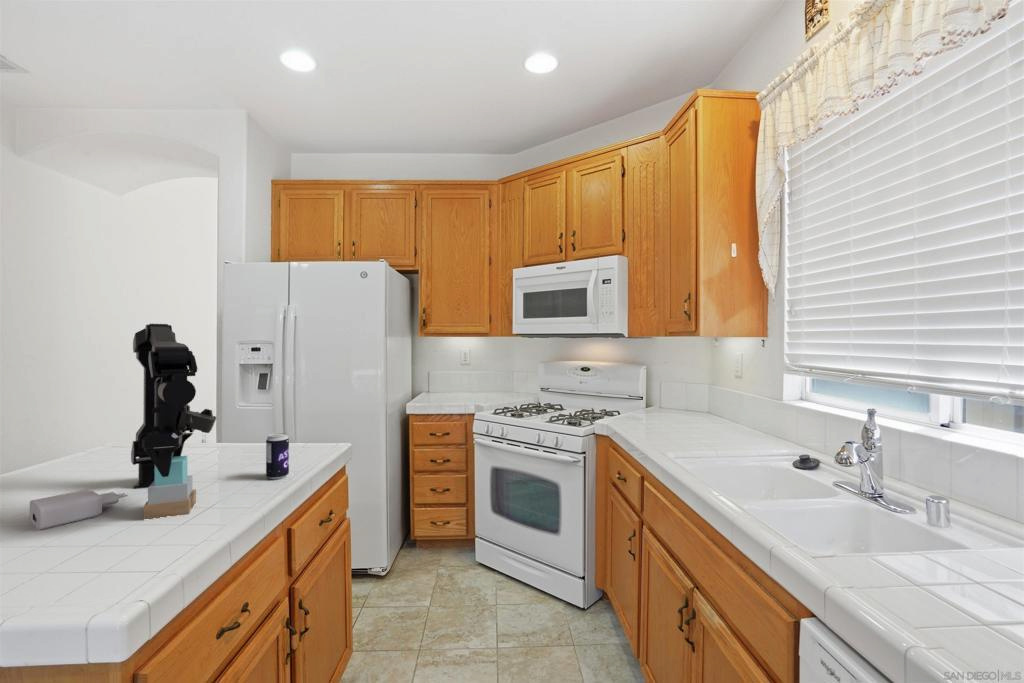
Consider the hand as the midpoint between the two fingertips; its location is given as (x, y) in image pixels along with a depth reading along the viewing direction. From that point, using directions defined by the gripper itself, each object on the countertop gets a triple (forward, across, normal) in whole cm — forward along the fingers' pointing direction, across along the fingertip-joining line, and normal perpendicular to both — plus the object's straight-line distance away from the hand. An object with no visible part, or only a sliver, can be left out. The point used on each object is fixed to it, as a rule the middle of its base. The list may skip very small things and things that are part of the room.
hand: (170, 471), depth 102 cm
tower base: (+9, 0, 0) cm, 9 cm away
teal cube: (+2, 0, 0) cm, 2 cm away
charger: (+10, +6, +17) cm, 20 cm away
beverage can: (+9, +18, -21) cm, 29 cm away
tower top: (+6, 0, 0) cm, 6 cm away
